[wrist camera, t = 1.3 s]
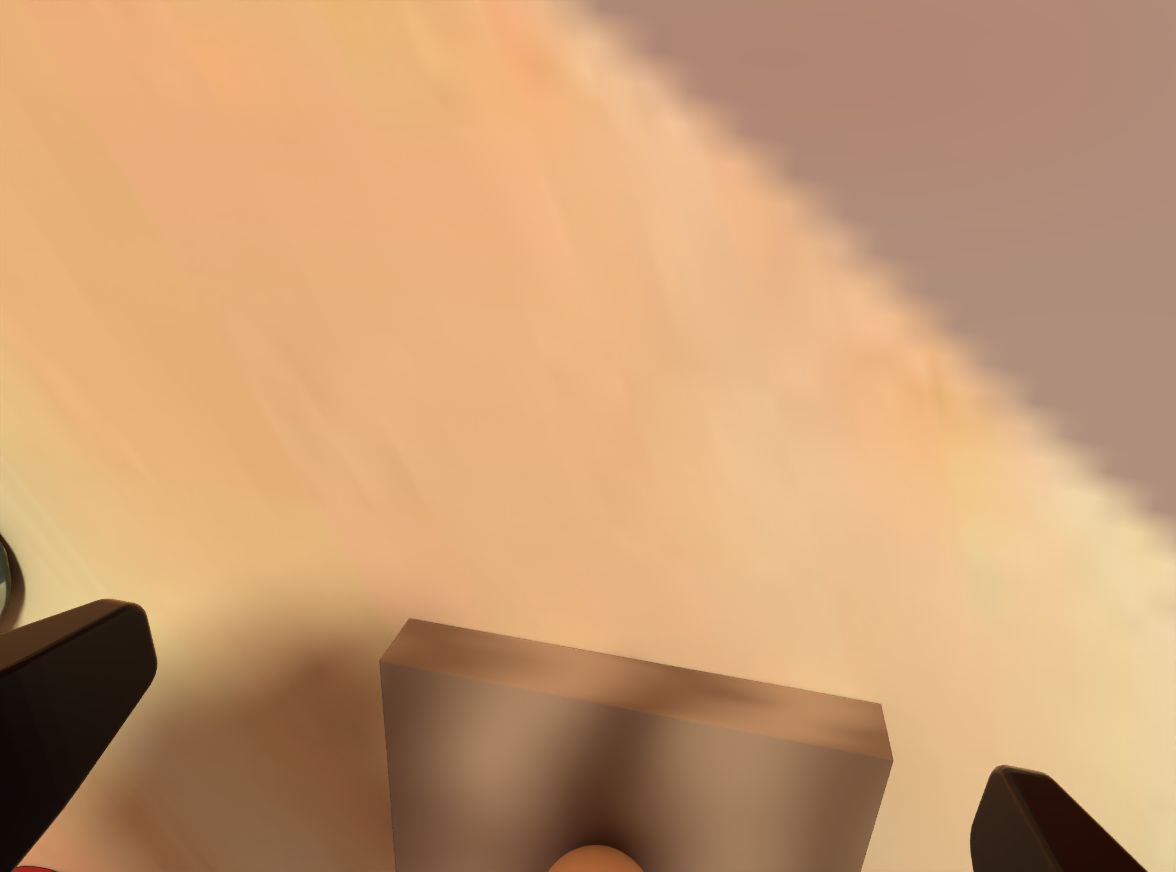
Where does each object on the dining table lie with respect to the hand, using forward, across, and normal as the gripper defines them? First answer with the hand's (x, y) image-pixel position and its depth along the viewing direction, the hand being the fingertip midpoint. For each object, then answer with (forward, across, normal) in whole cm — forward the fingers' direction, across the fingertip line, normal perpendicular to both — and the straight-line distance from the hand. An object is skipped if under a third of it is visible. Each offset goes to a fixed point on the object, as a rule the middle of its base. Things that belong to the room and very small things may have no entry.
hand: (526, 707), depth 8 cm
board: (+12, 0, +20) cm, 23 cm away
